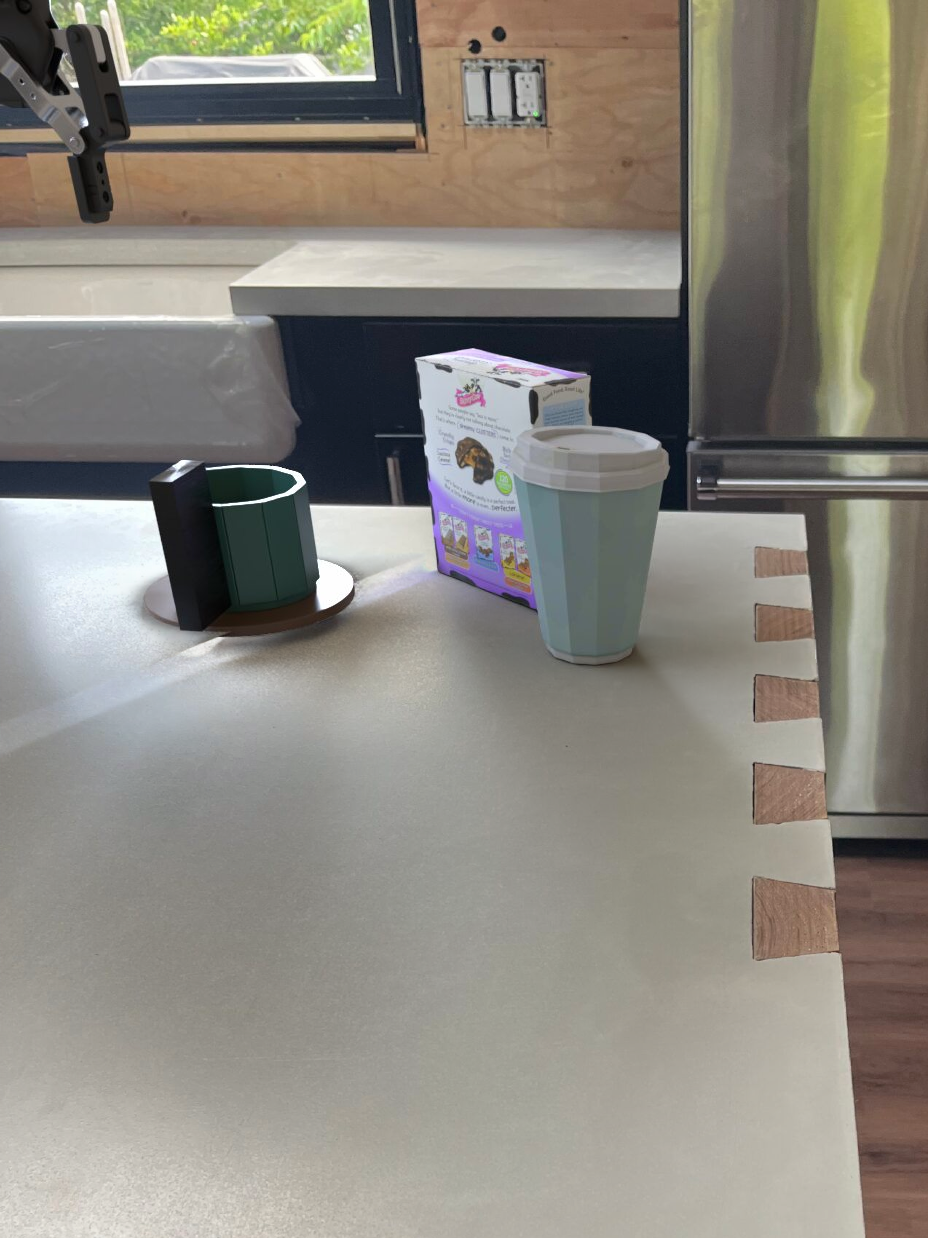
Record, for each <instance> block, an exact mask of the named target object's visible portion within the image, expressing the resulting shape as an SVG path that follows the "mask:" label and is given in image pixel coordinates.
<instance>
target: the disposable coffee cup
mask: <svg viewBox="0 0 928 1238" xmlns="http://www.w3.org/2000/svg"><path fill="white" fill-rule="evenodd" d="M508 469H509V470H510V471H511V472H513V476H514V482H515V487H516V493H517V499H518V504H519V510H520V515H521V521H522V527H523V532H524V538H525V543H526V549H527V555H528V560H529V566H530V571H531V577H532V583H533V588H534V594H535V599H536V605H537V614H538V621H539V627H540V632H541V638H542V640H543V641H544V642H545V645H546V648H547V650H548V651H549V652H550V653H551V654H552V655H553V657H554V658H557V659H559V660H563V661H565V662H568V663H572V664H581V665H595V666H597V665H603V664H610V663H617V662H620V661H621V660H623V659H625V658H627V657H629V656H631V655H632V652H633V648H634V646H636V645H637V644H636V643H637V640H638V637H639V633H640V627H641V626H640V625H641V620H642V613H643V608H644V602H645V595H646V590H647V583H648V578H649V573H650V572H649V571H650V565H651V561H652V554H653V547H654V541H655V535H656V529H657V524H658V518H659V511H660V504H661V499H662V493H663V486H664V481H665V480H667V477H668V475H669V472H670V469H671V465H670V464H669V452H667V450H665V448H663V447H662V442H661V441H660V440H658V439H656V438H654V437H652V436H651V435H648V434H646V433H643V432H638V431H634V430H630V429H625V428H620V427H612V426H600V425H592V426H588V425H568V426H546V427H541V428H535V429H530V430H525V431H524V432H523V433H521V434H520V435H519V436H518V437H517V445H516V447H515V448H514V450H513V451H512V453H511V454H510V466H509V468H508Z"/></svg>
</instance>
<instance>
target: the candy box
mask: <svg viewBox="0 0 928 1238" xmlns="http://www.w3.org/2000/svg"><path fill="white" fill-rule="evenodd" d="M414 363H415V373H416V380H417V381H416V382H417V392H418V400H419V401H418V402H419V410H420V420H421V428H422V429H421V430H422V436H423V437H422V438H423V447H424V449H423V451H424V456H425V457H424V458H425V467H426V475H427V484H428V485H427V486H428V494H429V505H430V513H431V521H432V522H431V524H432V533H433V542H434V551H435V560H436V569H437V571H438V572H439V573H442V574H444V575H447V576H449V577H453V578H455V579H458V580H460V581H462V582H464V583H467V584H470V585H472V586H475V587H478V588H479V589H482V590H484V591H487V592H490V593H493V594H496V595H498V596H500V597H503V598H505V599H508V600H510V601H513V602H515V603H519V604H521V605H524V606H526V607H528V608H531V609H533V610H537V605H536V599H535V594H534V588H533V583H532V577H531V571H530V566H529V560H528V555H527V549H526V543H525V538H524V532H523V527H522V521H521V515H520V510H519V504H518V499H517V493H516V487H515V482H514V476H513V472H511V471H510V470H509V469H508V468H509V466H510V454H511V453H512V451H513V450H514V448H515V447H516V445H517V437H518V436H519V435H520V434H521V433H523V432H524V431H525V430H530V429H535V428H541V427H546V426H568V425H588V426H593V418H592V411H593V410H592V376H591V375H587V374H583V373H578V372H573V371H570V370H564V369H560V368H558V367H557V368H556V367H551V366H549V365H544V364H539V363H536V362H531V361H526V360H523V359H518V358H514V357H511V356H505V355H502V354H498V353H493V352H489V351H485V350H482V349H477V348H467V349H461V350H455V351H454V350H453V351H448V352H443V353H436V354H432V355H426V356H420V357H419V356H418V357H415V358H414Z"/></svg>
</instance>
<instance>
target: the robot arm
mask: <svg viewBox="0 0 928 1238" xmlns="http://www.w3.org/2000/svg"><path fill="white" fill-rule="evenodd" d="M113 55H114V54H113V51H112V46H111V43H110V38H109V35H108V32H107V30H106V29H105V28H104V27H103V26H102V25H100V24H92V23H77V24H69V25H67V27H60V26H59V25H58V22H57V21H56V19H55V17H54V15H53V13H52V8H51V0H0V107H8V108H11V109H31V110H32V111H33V112H34V114H36V116H37V117H38V118H39V119H40V120H42V121H43V122H45V123H47V124H48V125H50V127H51V128H52V129H53V131H54V132H55V133H56V134H57V136H58V137H59V138H60V140H61V141H62V143H64V145H65V146H66V147H67V148H68V150H69V151H70V152H71V153H72V155H66V160H67V164H68V168H69V173H70V178H71V182H72V187H73V191H74V195H75V200H76V205H77V209H78V214H79V218H80V220H81V222H83V224H103V223H105V222H109V221H110V219H111V213H110V212H113V211H114V203H115V202H114V196H113V193H112V188H111V184H110V177H109V172H108V167H107V162H106V157H105V156H106V151H107V150H108V149H109V147H112V146H114V145H115V144H117V143H120V142H124V141H125V142H126V141H128V140H129V139H130V138H131V135H132V134H131V131H132V129H131V126H130V122H129V117H128V113H127V109H126V105H125V101H124V97H123V92H122V89H121V85H120V80H119V76H118V72H117V68H116V64H115V59H114V56H113ZM63 57H64V60H65V61H66V62H67V63H69V65H70V66H71V68H73V70H74V75H75V78H76V82H77V86H78V89H79V94H78V92H77V91H76V90H75V88H74V87H73V86H72V84H71V83H70V82H69V80H68V79H67V78H66V77H65V75H64V74H63V73H62V71H61V70H60V67H61V64H62V61H63Z"/></svg>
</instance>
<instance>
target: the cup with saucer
mask: <svg viewBox="0 0 928 1238" xmlns="http://www.w3.org/2000/svg"><path fill="white" fill-rule="evenodd" d="M147 483H148V486H149V492H150V496H151V500H152V505H153V509H154V515H155V519H156V524H157V529H158V534H159V538H160V543H161V547H162V552H163V556H164V561H165V567H166V571H167V575H165V576H163V577H161V578H159V579H157V580H156V581H155V582H153V583H152V584H151V585H150V586H149V587H148V588H147V589H146V591H145V592H144V595H143V597H142V598H143V599H142V600H143V606H144V609H145V610H146V612H147V613H148V614H149V615H150V617H152V618H154V619H155V620H157V621H159V622H162V623H164V624H166V625H170V626H174V627H178V628H179V631H183V632H201V633H203V632H221V633H222V632H226V633H224V634H220V635H218V636H217V638H245V637H246V638H247V637H257V636H258V637H259V636H268V635H273V634H279V633H285V632H290V631H295V630H298V629H302V628H306V627H309V626H313V625H315V624H318V623H321V622H323V621H326V620H328V619H330V618H332V617H334V616H336V615H338V614H339V613H341V612H343V611H344V610H345V609H346V608H347V607H348V606H350V605H351V604H352V602H353V601H354V598H355V596H356V588H355V582H354V579H353V576H352V575H351V574H350V572H349V571H347V570H346V569H345V568H343V567H340V566H339V565H337V564H334V563H332V562H329V561H325V560H321V559H319V558H318V552H317V545H316V540H315V532H314V531H315V530H314V524H313V520H312V519H313V517H312V513H311V511H312V510H311V505H310V499H309V498H310V497H309V491H308V485H307V482H306V480H305V479H304V477H303V476H302V474H301V473H299V472H298V471H294V470H289V469H286V468H282V467H279V466H273V465H272V466H270V465H254V464H253V465H252V464H251V465H249V464H238V465H237V464H236V465H226V466H225V465H223V466H215V467H206V462H205V461H204V460H190V459H189V460H188V459H187V460H186V459H182V460H180V461H178V462H176V463H175V464H173V465H171V466H170V467H169V468H167V469H165V470H164V471H162V472H160V473H159V474H158V475H156V476H154V477H152V478H150V480H148V482H147Z"/></svg>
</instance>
